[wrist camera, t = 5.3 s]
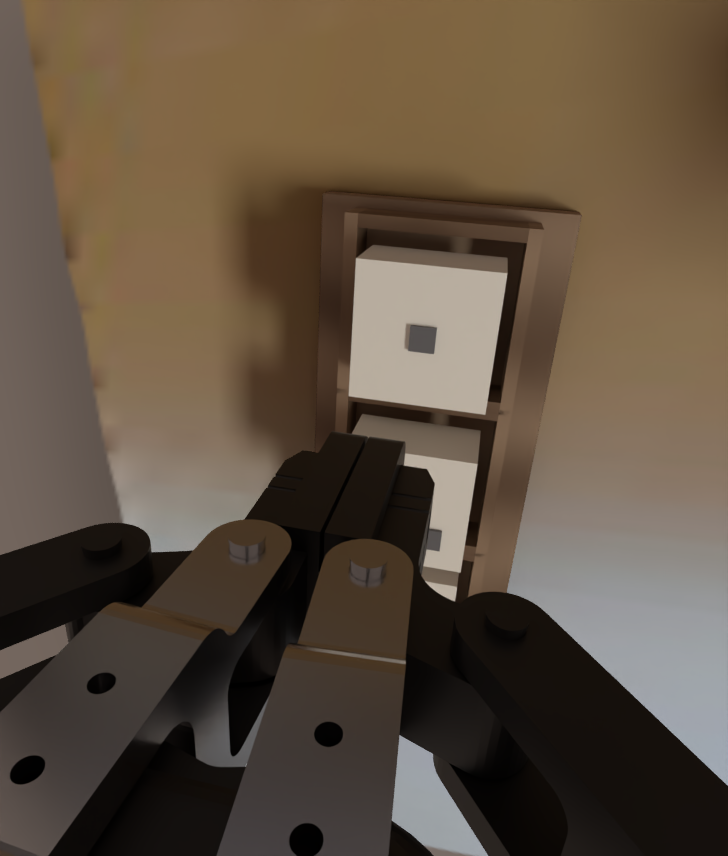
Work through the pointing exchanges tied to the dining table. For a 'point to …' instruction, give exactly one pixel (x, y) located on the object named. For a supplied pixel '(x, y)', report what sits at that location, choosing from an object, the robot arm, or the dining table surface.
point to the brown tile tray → (514, 356)
